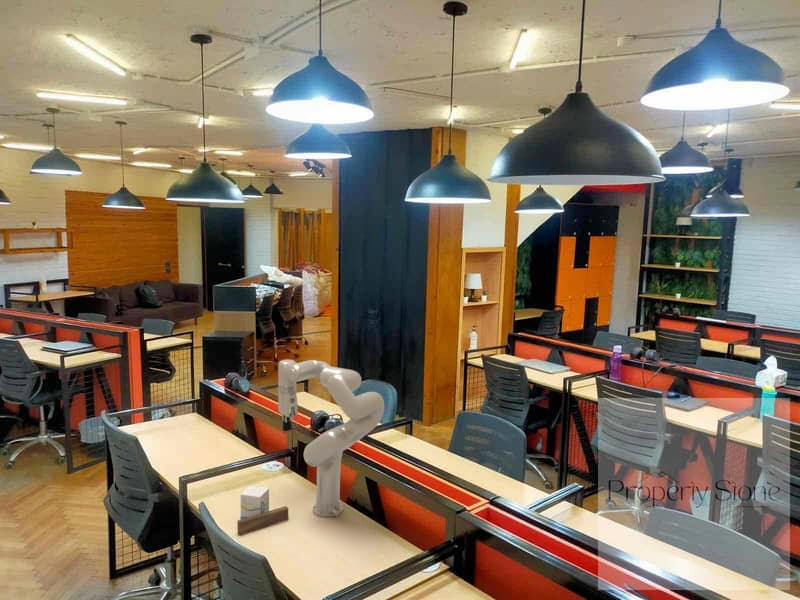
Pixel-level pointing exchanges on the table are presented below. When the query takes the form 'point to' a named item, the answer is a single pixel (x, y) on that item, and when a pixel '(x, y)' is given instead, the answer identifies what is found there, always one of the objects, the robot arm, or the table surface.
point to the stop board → (262, 520)
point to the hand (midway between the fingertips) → (287, 430)
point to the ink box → (254, 501)
